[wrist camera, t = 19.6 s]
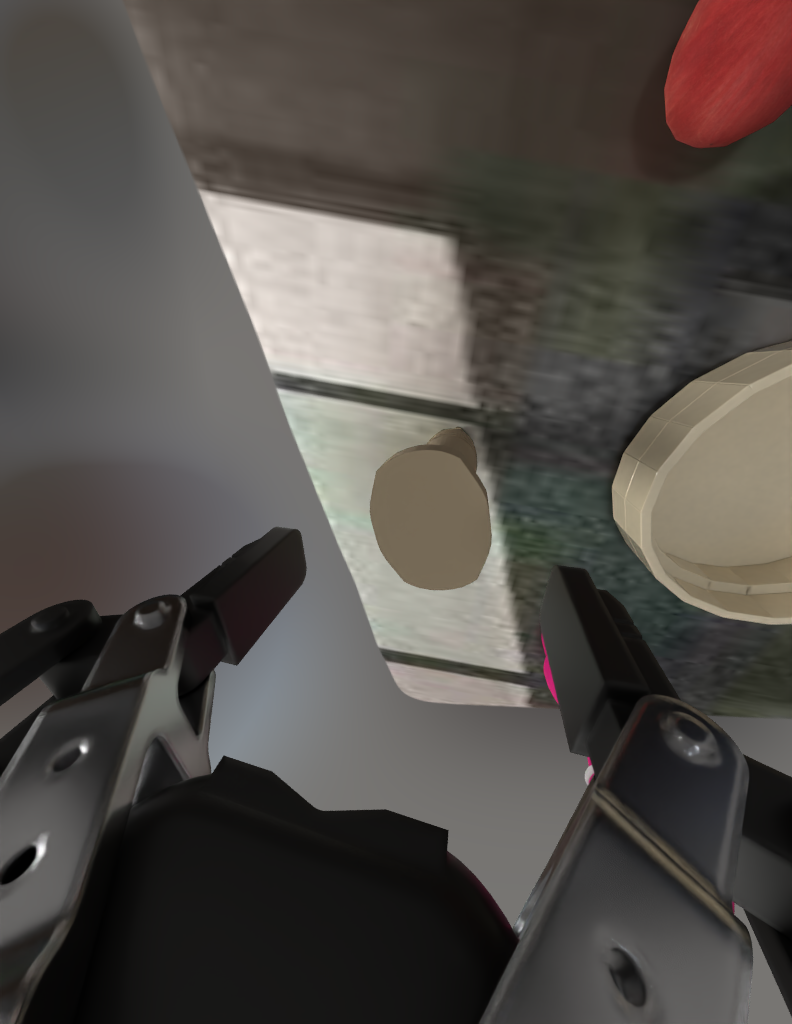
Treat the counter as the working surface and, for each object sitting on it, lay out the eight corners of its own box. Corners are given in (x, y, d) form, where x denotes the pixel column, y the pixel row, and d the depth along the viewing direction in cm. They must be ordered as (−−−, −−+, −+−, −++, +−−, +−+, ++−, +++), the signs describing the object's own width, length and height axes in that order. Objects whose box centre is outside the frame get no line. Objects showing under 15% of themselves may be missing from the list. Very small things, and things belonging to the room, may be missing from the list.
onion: (699, -11, 14) (924, -395, 7) (814, 38, 14) (1168, -308, 7) (609, 160, 17) (704, 9, 10) (704, 201, 17) (872, 79, 10)
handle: (478, 399, 23) (480, 439, 10) (486, 477, 26) (497, 589, 13) (418, 412, 25) (354, 461, 12) (431, 484, 27) (390, 591, 14)
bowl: (655, 339, 19) (714, 329, 15) (1029, 334, 16) (1272, 319, 11) (582, 558, 27) (605, 600, 22) (825, 589, 23) (915, 647, 18)
